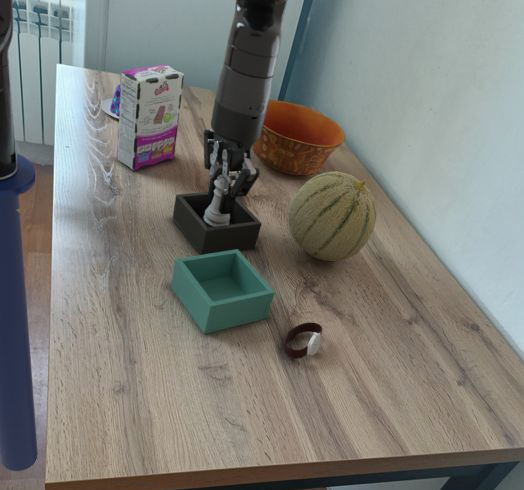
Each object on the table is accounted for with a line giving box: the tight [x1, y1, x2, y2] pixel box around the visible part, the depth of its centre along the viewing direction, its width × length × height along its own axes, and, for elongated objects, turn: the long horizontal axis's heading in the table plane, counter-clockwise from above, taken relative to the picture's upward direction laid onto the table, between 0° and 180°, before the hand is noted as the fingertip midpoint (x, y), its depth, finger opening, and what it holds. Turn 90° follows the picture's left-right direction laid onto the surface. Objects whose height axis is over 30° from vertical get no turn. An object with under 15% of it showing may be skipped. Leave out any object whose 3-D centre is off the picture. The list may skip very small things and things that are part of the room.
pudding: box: [100, 84, 120, 120], centre depth 116 cm, size 12×12×5 cm
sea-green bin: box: [170, 249, 276, 335], centre depth 78 cm, size 11×11×5 cm
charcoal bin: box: [171, 191, 262, 255], centre depth 91 cm, size 11×11×5 cm
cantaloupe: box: [287, 171, 377, 262], centre depth 92 cm, size 15×15×15 cm
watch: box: [283, 322, 323, 360], centre depth 76 cm, size 8×5×4 cm, turn 147°
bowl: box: [252, 99, 346, 176], centre depth 116 cm, size 21×21×10 cm
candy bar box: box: [116, 64, 185, 171], centre depth 100 cm, size 11×5×16 cm, turn 143°
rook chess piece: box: [204, 175, 233, 227], centre depth 88 cm, size 4×4×8 cm
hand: (219, 205), depth 88 cm, fingers closed on rook chess piece, 3 cm apart
